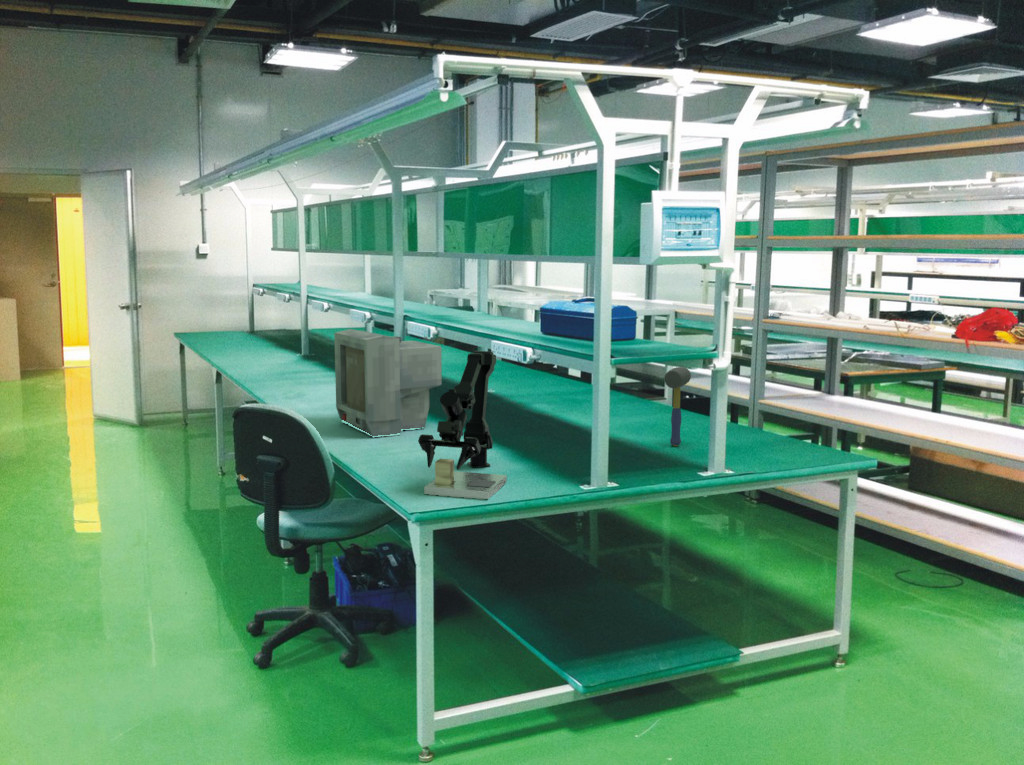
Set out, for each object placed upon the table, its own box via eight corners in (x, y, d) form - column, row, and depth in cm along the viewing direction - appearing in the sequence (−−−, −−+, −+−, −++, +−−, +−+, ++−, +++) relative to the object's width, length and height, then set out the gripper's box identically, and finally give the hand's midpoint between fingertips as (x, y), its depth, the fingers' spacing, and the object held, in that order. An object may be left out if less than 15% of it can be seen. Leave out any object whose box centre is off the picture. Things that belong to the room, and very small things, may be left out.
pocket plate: (446, 478, 279) (446, 469, 278) (506, 482, 273) (506, 474, 273) (424, 494, 259) (424, 485, 259) (488, 499, 254) (488, 490, 254)
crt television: (335, 423, 369) (333, 329, 363) (414, 415, 388) (413, 326, 382) (369, 439, 336) (367, 337, 330) (453, 430, 355) (452, 333, 349)
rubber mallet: (671, 441, 335) (673, 365, 331) (689, 444, 332) (692, 366, 327) (660, 448, 324) (663, 368, 320) (679, 450, 321) (682, 370, 316)
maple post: (440, 488, 266) (440, 458, 265) (454, 489, 265) (453, 459, 264) (435, 492, 262) (435, 461, 261) (449, 493, 261) (449, 462, 259)
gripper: (419, 408, 266) (406, 451, 257) (477, 411, 261) (466, 455, 252) (429, 428, 275) (416, 471, 266) (485, 432, 270) (474, 475, 261)
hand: (443, 467), depth 261 cm, fingers open, 9 cm apart
